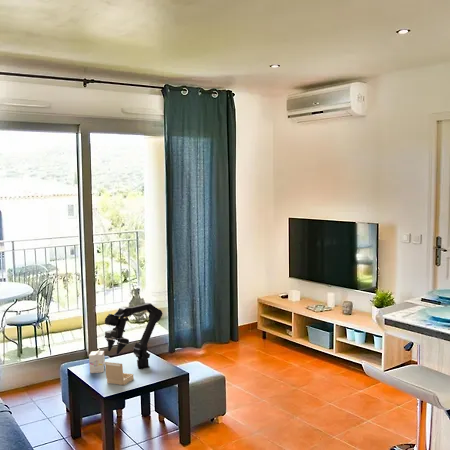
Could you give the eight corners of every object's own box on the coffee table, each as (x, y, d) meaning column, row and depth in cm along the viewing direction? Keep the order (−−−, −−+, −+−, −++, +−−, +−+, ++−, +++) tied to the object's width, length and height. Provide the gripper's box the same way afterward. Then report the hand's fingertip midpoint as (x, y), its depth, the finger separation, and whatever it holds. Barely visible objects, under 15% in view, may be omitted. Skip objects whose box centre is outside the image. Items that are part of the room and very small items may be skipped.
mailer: (117, 377, 308) (116, 372, 308) (133, 379, 303) (133, 374, 303) (107, 383, 299) (106, 378, 299) (123, 385, 294) (123, 380, 294)
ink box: (92, 368, 325) (90, 348, 324) (105, 367, 326) (104, 347, 325) (89, 373, 317) (88, 352, 316) (103, 372, 317) (101, 351, 316)
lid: (105, 361, 298) (104, 362, 297) (122, 363, 293) (121, 364, 292) (106, 378, 299) (105, 378, 298) (123, 380, 294) (122, 380, 293)
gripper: (101, 322, 312) (94, 348, 309) (117, 327, 299) (110, 353, 295) (115, 325, 319) (108, 350, 316) (132, 330, 306) (125, 356, 303)
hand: (113, 352), depth 307 cm, fingers open, 9 cm apart
